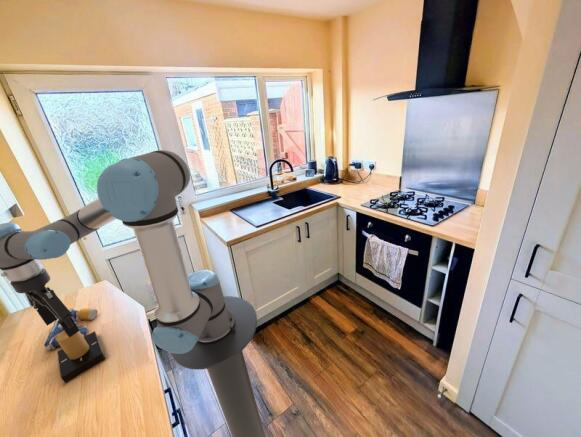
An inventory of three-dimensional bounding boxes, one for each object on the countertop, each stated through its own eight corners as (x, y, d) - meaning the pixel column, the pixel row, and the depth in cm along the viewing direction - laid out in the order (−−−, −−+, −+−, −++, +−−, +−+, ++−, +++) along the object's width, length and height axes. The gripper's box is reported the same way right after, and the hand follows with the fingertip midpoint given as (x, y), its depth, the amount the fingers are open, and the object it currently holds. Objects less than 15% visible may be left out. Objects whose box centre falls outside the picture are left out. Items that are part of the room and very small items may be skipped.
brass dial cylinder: (90, 351, 84) (78, 331, 80) (70, 362, 81) (56, 343, 77) (87, 341, 88) (75, 323, 84) (68, 353, 84) (54, 333, 80)
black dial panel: (106, 358, 84) (102, 352, 83) (65, 383, 77) (60, 377, 76) (98, 336, 93) (94, 330, 92) (61, 357, 87) (57, 351, 85)
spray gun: (102, 304, 110) (61, 319, 104) (97, 297, 108) (55, 311, 103) (93, 338, 93) (43, 358, 88) (88, 330, 91) (37, 350, 86)
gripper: (-9, 274, 73) (29, 326, 81) (31, 292, 62) (70, 349, 71) (24, 260, 79) (56, 310, 88) (65, 274, 69) (97, 329, 77)
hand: (62, 327), depth 79 cm, fingers open, 13 cm apart
